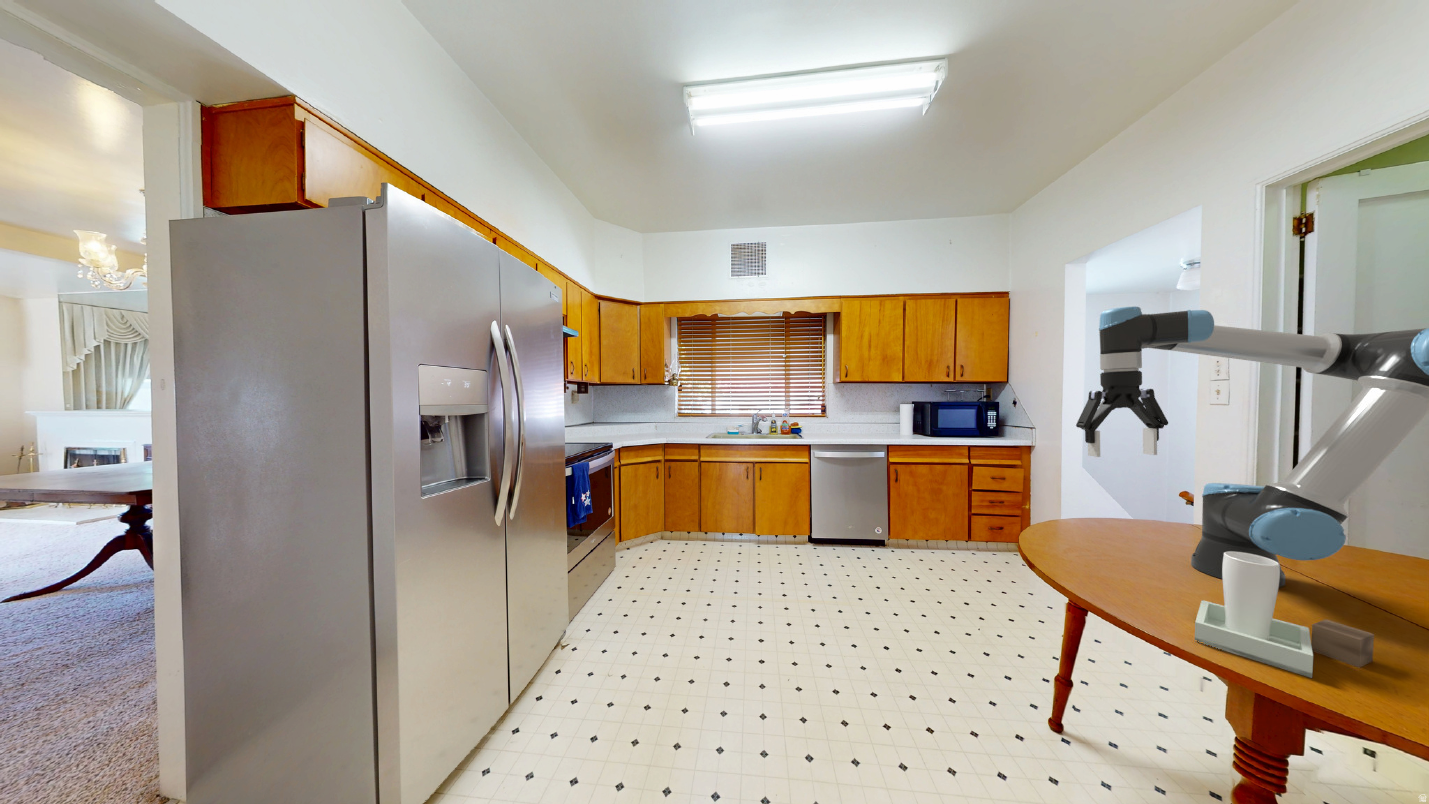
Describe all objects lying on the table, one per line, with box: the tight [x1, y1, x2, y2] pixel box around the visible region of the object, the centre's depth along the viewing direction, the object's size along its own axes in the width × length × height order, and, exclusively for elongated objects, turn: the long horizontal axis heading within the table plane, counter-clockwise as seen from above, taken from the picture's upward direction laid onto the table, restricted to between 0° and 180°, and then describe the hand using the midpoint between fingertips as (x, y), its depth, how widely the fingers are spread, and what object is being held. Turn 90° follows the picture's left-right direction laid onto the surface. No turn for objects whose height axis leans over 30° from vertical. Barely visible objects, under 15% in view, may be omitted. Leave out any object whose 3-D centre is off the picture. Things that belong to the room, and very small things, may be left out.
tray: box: [1194, 599, 1314, 679], centre depth 80 cm, size 13×13×4 cm
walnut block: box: [1311, 618, 1375, 669], centre depth 76 cm, size 5×5×5 cm
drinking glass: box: [1222, 551, 1281, 640], centre depth 81 cm, size 7×7×15 cm
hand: (1122, 455), depth 106 cm, fingers open, 13 cm apart
